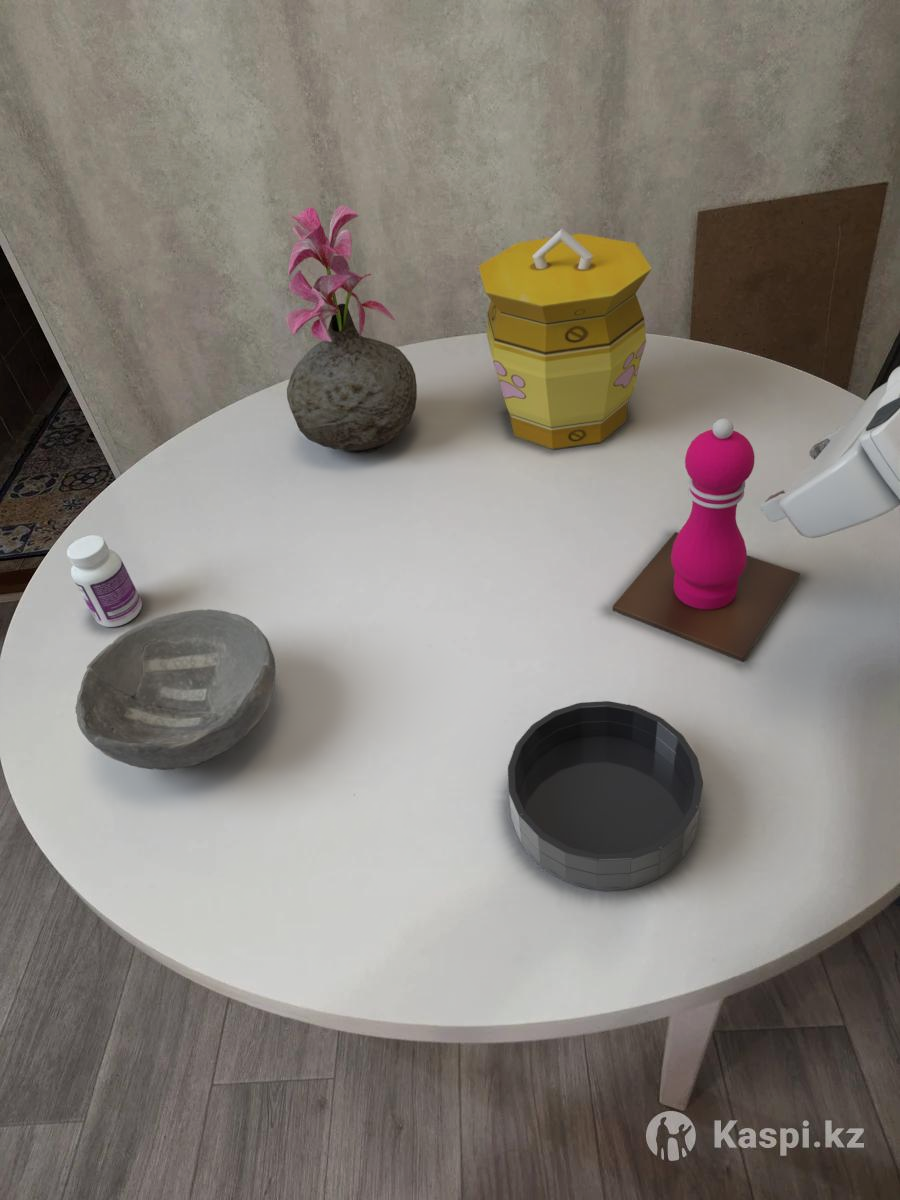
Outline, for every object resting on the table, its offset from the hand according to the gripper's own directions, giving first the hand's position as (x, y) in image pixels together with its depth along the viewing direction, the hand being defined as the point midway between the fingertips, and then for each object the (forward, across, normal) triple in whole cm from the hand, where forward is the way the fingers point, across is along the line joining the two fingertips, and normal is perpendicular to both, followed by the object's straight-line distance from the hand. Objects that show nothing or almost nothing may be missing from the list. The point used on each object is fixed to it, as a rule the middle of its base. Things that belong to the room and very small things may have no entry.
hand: (793, 482), depth 74 cm
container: (+39, -22, -15) cm, 48 cm away
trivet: (+17, -1, +7) cm, 18 cm away
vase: (+54, -4, -30) cm, 63 cm away
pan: (+13, +27, +11) cm, 32 cm away
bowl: (+39, +42, -15) cm, 59 cm away
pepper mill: (+16, -1, +7) cm, 18 cm away
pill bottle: (+54, +37, -30) cm, 72 cm away
